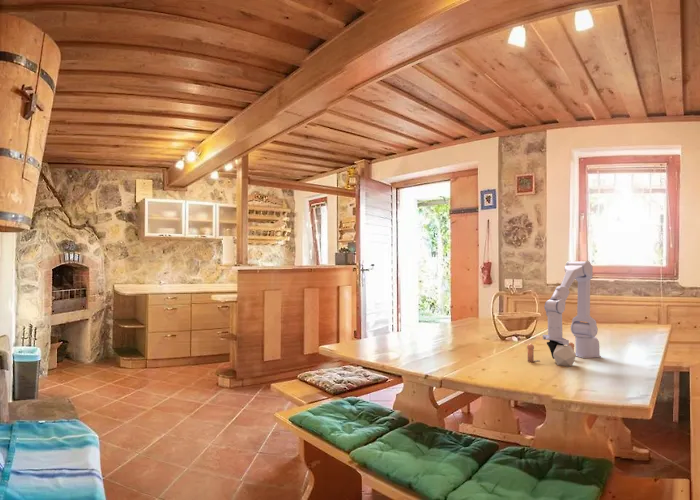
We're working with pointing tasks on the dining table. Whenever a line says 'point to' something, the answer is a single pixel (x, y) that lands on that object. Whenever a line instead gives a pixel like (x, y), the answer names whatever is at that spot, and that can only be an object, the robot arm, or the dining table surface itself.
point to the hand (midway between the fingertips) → (555, 358)
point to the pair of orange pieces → (531, 351)
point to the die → (564, 355)
